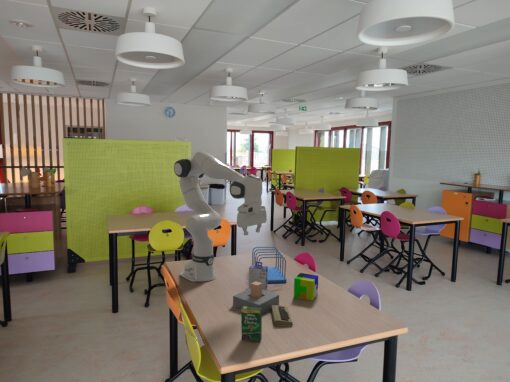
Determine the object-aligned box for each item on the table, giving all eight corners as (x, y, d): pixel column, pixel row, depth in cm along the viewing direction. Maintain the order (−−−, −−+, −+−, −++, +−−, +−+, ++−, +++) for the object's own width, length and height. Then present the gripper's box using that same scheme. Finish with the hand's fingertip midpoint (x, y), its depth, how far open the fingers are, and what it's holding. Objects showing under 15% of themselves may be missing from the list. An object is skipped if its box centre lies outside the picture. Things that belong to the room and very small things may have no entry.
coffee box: (240, 340, 141) (240, 308, 140) (242, 336, 144) (242, 305, 143) (260, 343, 139) (260, 310, 138) (261, 339, 142) (262, 307, 141)
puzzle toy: (317, 293, 191) (318, 275, 190) (312, 300, 181) (313, 281, 180) (299, 290, 195) (300, 272, 194) (293, 297, 186) (294, 278, 185)
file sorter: (286, 282, 206) (287, 257, 205) (257, 284, 204) (257, 257, 202) (277, 269, 231) (277, 245, 229) (250, 270, 228) (250, 246, 227)
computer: (292, 326, 154) (293, 319, 154) (274, 327, 154) (274, 319, 153) (287, 311, 170) (287, 304, 169) (270, 311, 169) (270, 304, 169)
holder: (232, 305, 173) (233, 295, 173) (253, 296, 186) (253, 286, 185) (258, 315, 163) (259, 304, 163) (278, 304, 176) (279, 294, 175)
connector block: (250, 303, 174) (250, 283, 173) (255, 300, 177) (255, 281, 176) (256, 305, 172) (257, 285, 171) (261, 302, 175) (262, 283, 174)
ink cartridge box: (267, 287, 198) (268, 262, 197) (266, 291, 193) (266, 265, 191) (250, 285, 200) (250, 260, 199) (248, 289, 195) (248, 263, 193)
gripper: (260, 204, 192) (259, 229, 193) (235, 208, 176) (234, 235, 177) (270, 205, 188) (268, 231, 189) (244, 209, 172) (243, 238, 173)
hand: (251, 233), depth 183 cm, fingers open, 8 cm apart
